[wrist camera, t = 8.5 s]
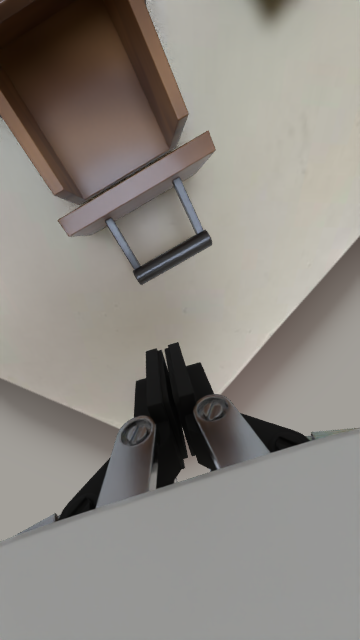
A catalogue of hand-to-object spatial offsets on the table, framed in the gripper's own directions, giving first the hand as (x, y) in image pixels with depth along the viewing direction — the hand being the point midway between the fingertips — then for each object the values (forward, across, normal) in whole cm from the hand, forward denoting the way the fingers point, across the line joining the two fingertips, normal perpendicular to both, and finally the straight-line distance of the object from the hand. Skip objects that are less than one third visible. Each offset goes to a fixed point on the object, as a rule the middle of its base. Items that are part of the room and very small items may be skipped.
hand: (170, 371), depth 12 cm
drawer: (+15, 0, -13) cm, 19 cm away
